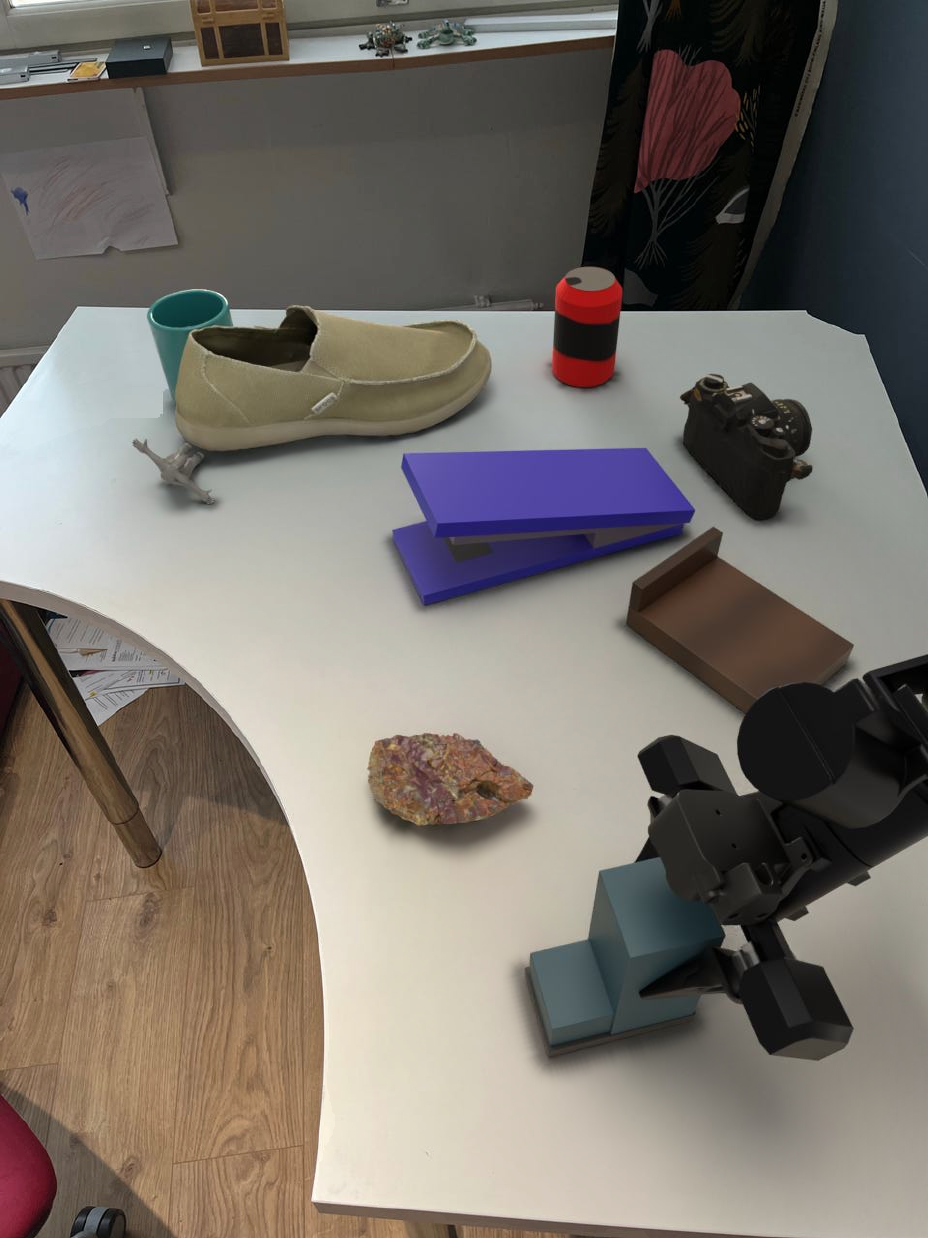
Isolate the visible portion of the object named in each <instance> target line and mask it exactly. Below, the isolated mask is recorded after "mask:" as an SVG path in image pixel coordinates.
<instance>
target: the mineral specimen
mask: <svg viewBox="0 0 928 1238" xmlns="http://www.w3.org/2000/svg"><path fill="white" fill-rule="evenodd" d="M369 754H370V755H369V758H368V765H367V768H366V770H367V771H369V774H368V776H367V777H368V779H367V782H368V784H369V786H370V792H371V794H373V798H374V801H375V802H376V803H377V804H381V805H382V807H384V809H386V810H388V811H389V812H390V813H391V815H395V816H397V817H399V818H400V819H401V820H403V821H409V822H411V823H413V824H415V825H416V826H419V827H421V826H427V825H432V826H433V825H443V824H444V825H445V824H446V825H451V824H463V823H465V824H466V823H470V822H472V821H482V820H485V819H488V818H490V817H492V816H495V815H497V814H498V813H501V811H502V810H505V809H507V808H508V807H509V805H512V804H517V803H518V802H519V801H521V800H528V799H529V798H530V797H531V796H532V794H533V793H532V792H533V790H534V784H532V783H531V781H529V780H528V779H526V777H524V776H522V775H521V773H520V772H519V771H518V770H516V769H515V768H513V767H511V766H510V765H509V766H508V765H505V764H503V763H502V762H500V761H498V759H497V758H496V757H494V755H493V754H492V753H491V752H490V751H489V750H488V749H487V748H485V747H484V746H483V744H482V743H481V741H480V740H479V739H471V738H470V739H469V738H468V739H467V738H465V737H463V735H461V734H459V733H456V732H455V733H452V735H449V734H447V735H445V734H442V735H441V736H440V735H439V734H437V733H431V732H429V733H428V732H423V733H422V734H413V735H411V736H407V735H402V734H395V735H393V736H392V737H385V738H381V739H378V740H375V741H374V745H373V746H372V748H371V751H370V753H369ZM479 790H481V791H482V792H483V794H485V795H486V796H487V798H485V797H483V796H481V795H480V794H479V793H478V792H477V791H479Z"/></svg>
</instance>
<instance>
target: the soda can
mask: <svg viewBox="0 0 928 1238" xmlns="http://www.w3.org/2000/svg"><path fill="white" fill-rule="evenodd" d="M622 300H623V287H622V286H621V284H620V283H619V281H618V280H617V278H616V277H615V275H614V273H612V272H611V271H610V270H608V269H606V268H602V267H597V266H581V267H577V268H574V269H571V270H570V271H568V272H567V273H566V274H565V276H563V278H562V279H561V280H560V281H559V283H557V285H556V288H555V302H554V303H555V304H554V321H553V340H552V358H551V370H552V373H553V375H554V376H555V377H556V378H557V379H558V380H559V381H560V382H562V383H563V384H566V385H569V386H572V387H576V388H592V387H597V386H600V385H602V384H604V383H606V382H607V381H608V380H609V379H610V378H612V376H613V375H614V373H615V366H616V357H617V356H616V355H617V348H618V347H617V346H618V339H619V338H618V337H619V330H620V329H619V328H620V320H621V319H620V318H621V311H622Z"/></svg>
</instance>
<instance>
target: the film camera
mask: <svg viewBox="0 0 928 1238" xmlns="http://www.w3.org/2000/svg"><path fill="white" fill-rule="evenodd" d="M679 399H680V400H681V401H682V402H683V405H685V406H687V408H688V412H687V418H686V420H685V423H684V427H683V432H682V434H683V435H682V444H683V445H684V446H686V447H687V450H688V452H689V454H690V455H692V458H693V459H695V460H696V461H697V462H698V463H699V464H700V465H701V467H702V468H703V469H704V470H706V472H707V473H708V474H709V475H710V476H711V477H712V479H713V480H714V481H715V482H716V483H717V484H718V485H719V486H720V487H721V488H722V489H723V490H724V491H725V492H726V493H727V494H728V495H729V496H730V497H731V498H732V500H733V501H734V502H735V503H736V504H737V505H738V506H739V507H740V508H741V509H742V510H743V511H744V512H745V513H746V514H748V515H749V516H750V517H752V518H753V519H755V520H758V521H759V520H760V521H761V520H768V519H770V518H772V517H776V515H777V514H778V512H779V510H780V507H781V504H782V500H783V497H784V493H785V490H786V486H787V484H788V482H789V481H792V480H794V479H796V480H798V481H799V480H803V479H805V478H807V477H809V476H811V475H810V474H811V473H812V472H813V465H812V464H808V463H807V461H805V460H803V459H799V458H798V459H795V458H797V457H800V456H802V455H804V454H805V453H807V451H808V450H809V449H810V445H811V440H812V435H813V427H812V423H811V418H810V415H809V412H808V409H806V407H805V406H804V405H803V404H802V403H801V402H800V401H799V400H796V399H793V398H785V399H782V398H778V399H772V400H771V399H770V398H769V397H768V396H767V395H766V394H765V392H764V391H763V390H762V389H760V388H759V387H758V386H757V385H756V384H754V383H753V382H748V383H745V384H741V385H737V386H729V383H728V382H727V381H725V378H724V376H722V375H721V374H719V373H709V374H707V375H705V376H704V377H701V378H700V379H699V380H697V381H695V384H694V386H693V387H692V388H690V389H689V390H687V391H685V392H684V393H682V394H681V395H680V396H679ZM798 461H799V462H800V463H801V464H802V465H800V464H799V463H798Z"/></svg>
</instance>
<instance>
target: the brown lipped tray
mask: <svg viewBox="0 0 928 1238" xmlns="http://www.w3.org/2000/svg"><path fill="white" fill-rule="evenodd" d="M723 535H724V532H723V531H721V530H720V529H719V528H717V527H715V526H712V527H710V528H709V529H707V530H706V531H704V532H703V533H702V534H699V536H697V537H696V538H694V539H693V540H692V541H690V542H688V543H687V544H686V545H684V546H683V547H681V548H680V549H678V550H677V551H676V552H674V553H673V554H671V555H670V556H668V557H667V558H665V559H664V560H662V561H661V562H660V563H658V564H656V565H655V566H654V567H652V568H651V569H649V570H648V571H647V572H645V573H644V574H642V575H640V576H639V577H638V578H637V579H634V581H632V583H631V590H630V595H629V596H630V597H629V601H628V607H627V608H628V609H627V614H626V621H625V625H626V626H627V627H629V628H630V629H631V630H633V631H634V632H636V633H637V634H638V635H639V636H641V637H642V638H644V639H645V640H646V641H647V642H649V643H650V644H651V645H653V646H655V648H657V649H658V650H660V652H662V653H664V654H665V655H666V656H668V657H669V658H670V659H671V660H673V661H674V662H676V663H677V664H679V666H681V667H683V668H684V669H685V670H686V671H688V672H689V673H690V674H692V675H693V676H694V677H696V678H697V679H699V680H700V681H701V682H702V683H704V684H705V685H707V686H708V687H709V688H711V689H712V690H714V692H716V693H717V694H719V695H720V696H721V697H723V698H724V699H726V700H727V701H728V702H729V703H731V704H732V705H733V706H735V707H736V708H738V709H739V710H740V711H742V712H743V713H744V714H746V713H747V711H748V710H749V708H750V707H751V705H752V704H753V703H754V702H755V701H756V700H757V699H758V698H759V697H760V696H761V695H762V694H763V693H765V692H766V691H768V690H770V689H771V688H773V687H780V686H783V685H786V684H789V683H797V682H808V683H814V684H819V685H821V686H823V684H825V682H827V681H828V680H829V679H830V678H831V677H833V676H834V675H835V674H836V673H837V672H839V670H841V668H843V667H844V666H845V665H846V664H847V662H848V660H849V658H850V656H851V653H852V651H853V649H854V647H855V644H854V643H852V642H850V641H849V640H847V639H846V638H845V637H843V636H842V635H840V634H838V633H837V632H835V631H834V630H832V629H831V628H829V627H828V626H826V625H824V624H823V623H822V622H820V621H819V620H817V619H815V618H814V617H812V616H810V615H809V614H807V613H806V612H805V611H804V610H802V609H800V608H799V607H796V606H795V605H794V604H792V603H791V602H789V601H787V600H786V599H784V598H783V597H782V596H780V595H778V594H777V593H775V592H774V591H772V590H770V589H769V588H768V587H766V586H764V585H762V584H761V583H760V582H758V581H756V580H755V579H753V578H752V577H750V576H749V575H748V574H746V573H744V572H743V571H741V570H740V569H738V568H737V567H735V566H733V565H732V564H731V563H729V562H727V561H726V560H724V559H722V558H721V557H719V556H718V555H719V551H720V547H721V544H722V540H723Z"/></svg>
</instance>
